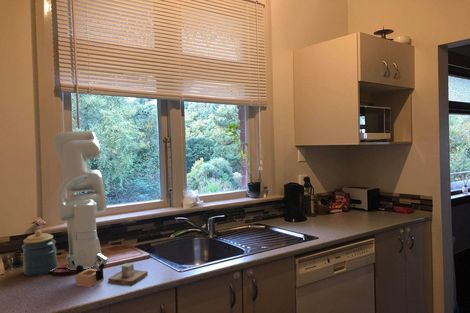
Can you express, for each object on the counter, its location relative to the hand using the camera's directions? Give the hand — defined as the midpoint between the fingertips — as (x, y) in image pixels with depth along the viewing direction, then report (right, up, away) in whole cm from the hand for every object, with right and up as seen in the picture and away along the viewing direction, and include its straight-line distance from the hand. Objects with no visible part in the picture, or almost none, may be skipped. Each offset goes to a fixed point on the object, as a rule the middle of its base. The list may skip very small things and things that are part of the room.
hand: (89, 278), depth 141 cm
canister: (-27, -2, +16) cm, 32 cm away
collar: (0, -2, 0) cm, 2 cm away
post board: (+14, -1, +2) cm, 14 cm away
